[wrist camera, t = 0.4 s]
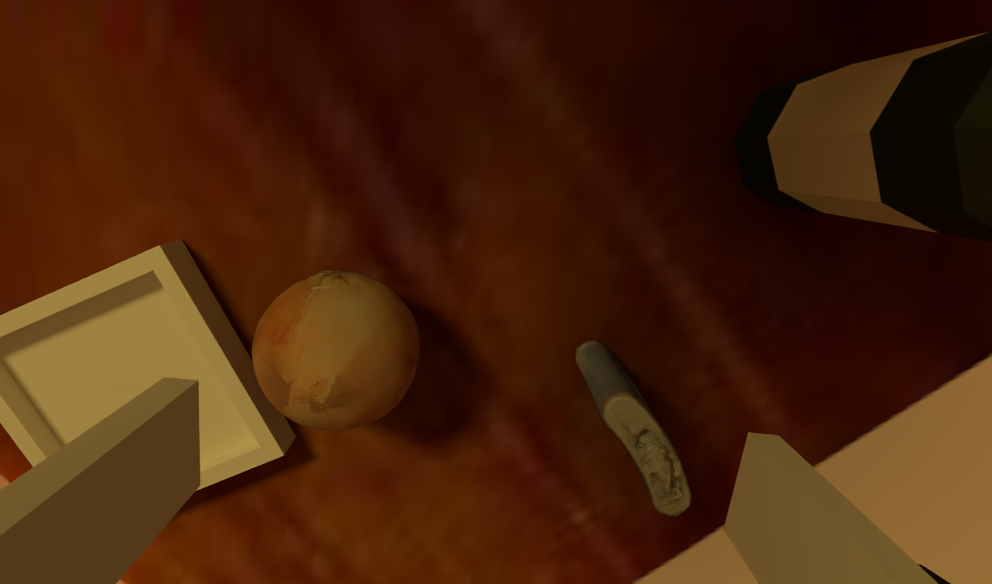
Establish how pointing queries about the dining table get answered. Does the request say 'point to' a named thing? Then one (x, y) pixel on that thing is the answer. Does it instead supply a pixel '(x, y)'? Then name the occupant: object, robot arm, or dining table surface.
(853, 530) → the robot arm
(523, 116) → the dining table surface
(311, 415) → the onion
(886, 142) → the wine bottle
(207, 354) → the dish
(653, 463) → the flask
